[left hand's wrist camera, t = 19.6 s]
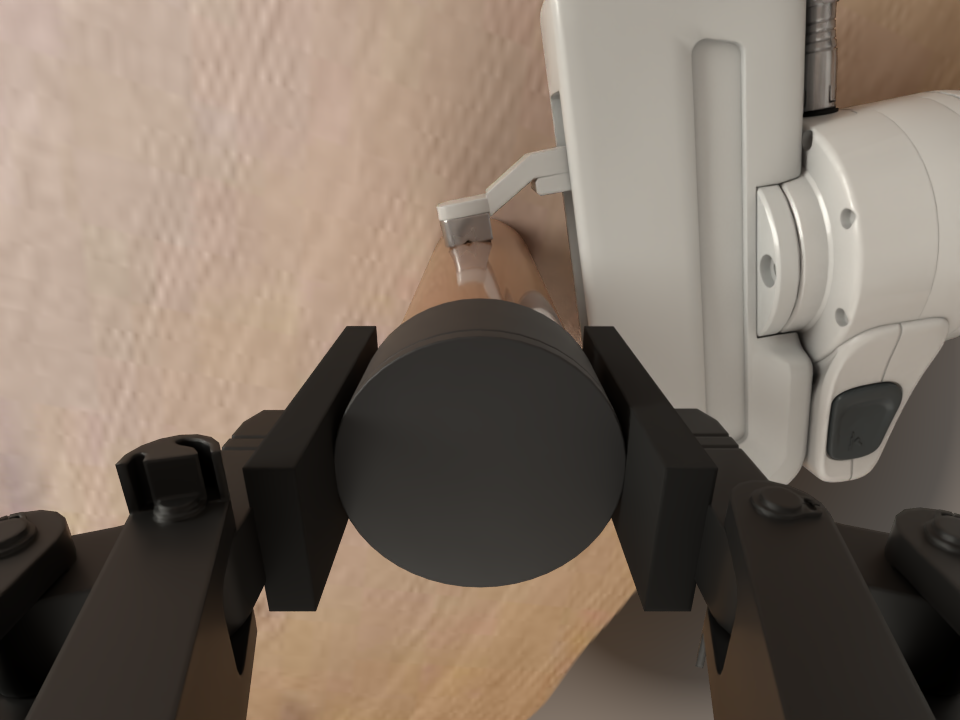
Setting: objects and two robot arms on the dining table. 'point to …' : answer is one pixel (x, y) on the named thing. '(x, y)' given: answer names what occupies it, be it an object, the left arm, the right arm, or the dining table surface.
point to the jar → (484, 274)
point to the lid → (479, 446)
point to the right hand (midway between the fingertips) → (459, 307)
